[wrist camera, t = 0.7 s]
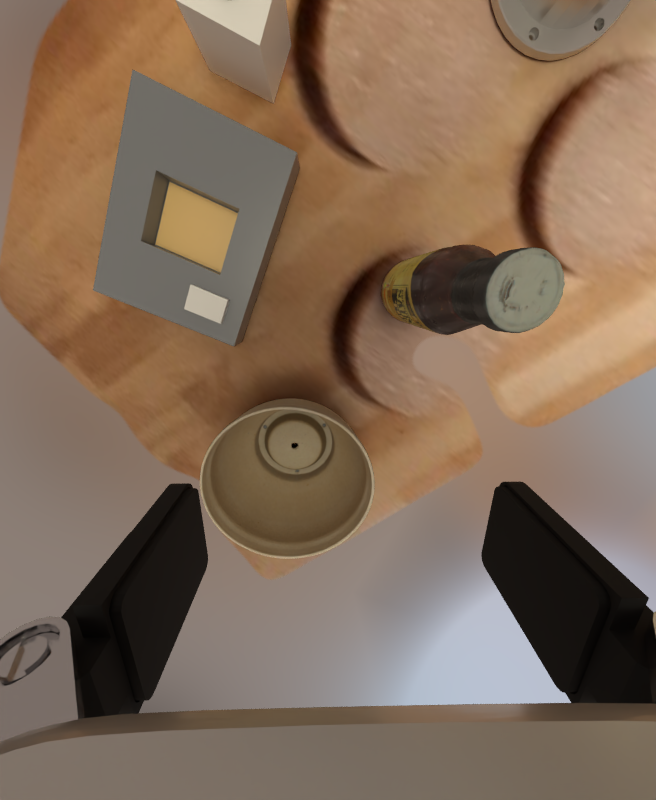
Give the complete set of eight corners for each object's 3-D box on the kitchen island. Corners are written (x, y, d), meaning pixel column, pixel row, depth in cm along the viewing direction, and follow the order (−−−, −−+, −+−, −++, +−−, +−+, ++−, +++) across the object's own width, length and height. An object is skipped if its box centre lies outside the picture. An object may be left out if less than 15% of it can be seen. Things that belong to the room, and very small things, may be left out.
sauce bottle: (367, 297, 34) (425, 297, 15) (405, 247, 33) (522, 177, 14) (411, 334, 35) (515, 376, 17) (450, 287, 34) (612, 276, 15)
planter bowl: (384, 451, 40) (407, 505, 30) (285, 514, 43) (273, 583, 32) (309, 349, 36) (305, 371, 25) (204, 426, 38) (161, 474, 28)
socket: (154, 96, 28) (126, 62, 24) (299, 168, 30) (296, 148, 26) (115, 290, 33) (87, 289, 29) (242, 341, 35) (231, 347, 31)
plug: (224, 8, 26) (182, -120, 18) (291, 45, 27) (278, -62, 19) (210, 70, 28) (163, -24, 20) (273, 104, 29) (255, 26, 20)
